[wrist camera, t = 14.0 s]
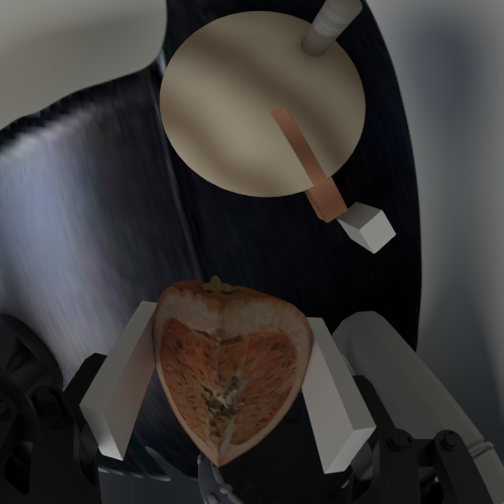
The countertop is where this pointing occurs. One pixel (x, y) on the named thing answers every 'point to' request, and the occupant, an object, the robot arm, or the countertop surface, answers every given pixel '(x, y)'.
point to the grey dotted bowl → (276, 469)
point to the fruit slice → (228, 362)
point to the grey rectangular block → (367, 226)
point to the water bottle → (412, 390)
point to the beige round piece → (267, 104)
